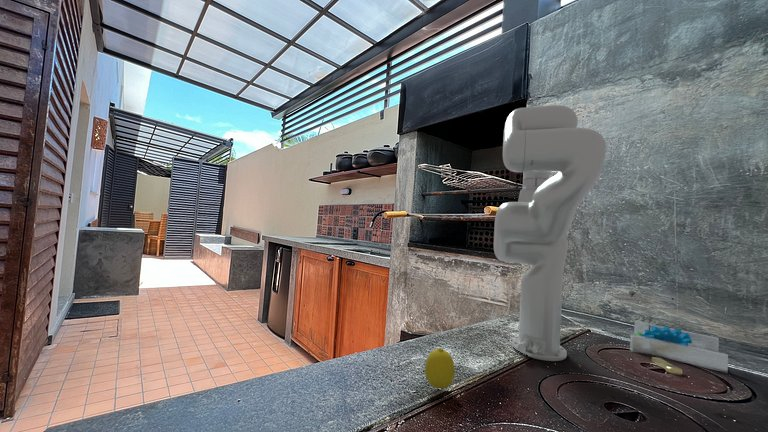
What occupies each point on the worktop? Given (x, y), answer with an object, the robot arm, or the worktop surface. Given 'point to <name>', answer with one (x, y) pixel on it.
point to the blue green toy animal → (668, 335)
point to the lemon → (439, 368)
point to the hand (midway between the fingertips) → (533, 241)
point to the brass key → (667, 366)
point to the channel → (681, 348)
